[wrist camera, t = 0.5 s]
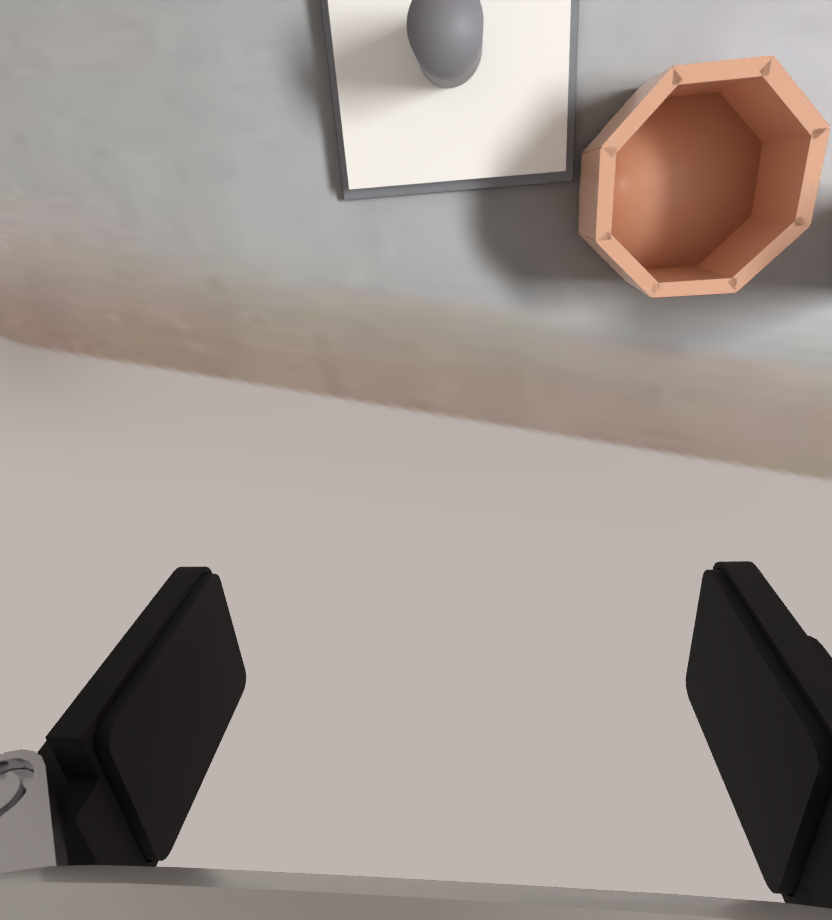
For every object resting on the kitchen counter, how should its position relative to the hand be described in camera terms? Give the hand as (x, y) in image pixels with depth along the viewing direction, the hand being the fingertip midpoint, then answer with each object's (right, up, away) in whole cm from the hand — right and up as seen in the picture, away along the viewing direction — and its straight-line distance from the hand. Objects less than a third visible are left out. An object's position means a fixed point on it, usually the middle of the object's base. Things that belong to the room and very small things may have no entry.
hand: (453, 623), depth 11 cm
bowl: (+13, +18, +20) cm, 30 cm away
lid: (+1, +24, +18) cm, 30 cm away
